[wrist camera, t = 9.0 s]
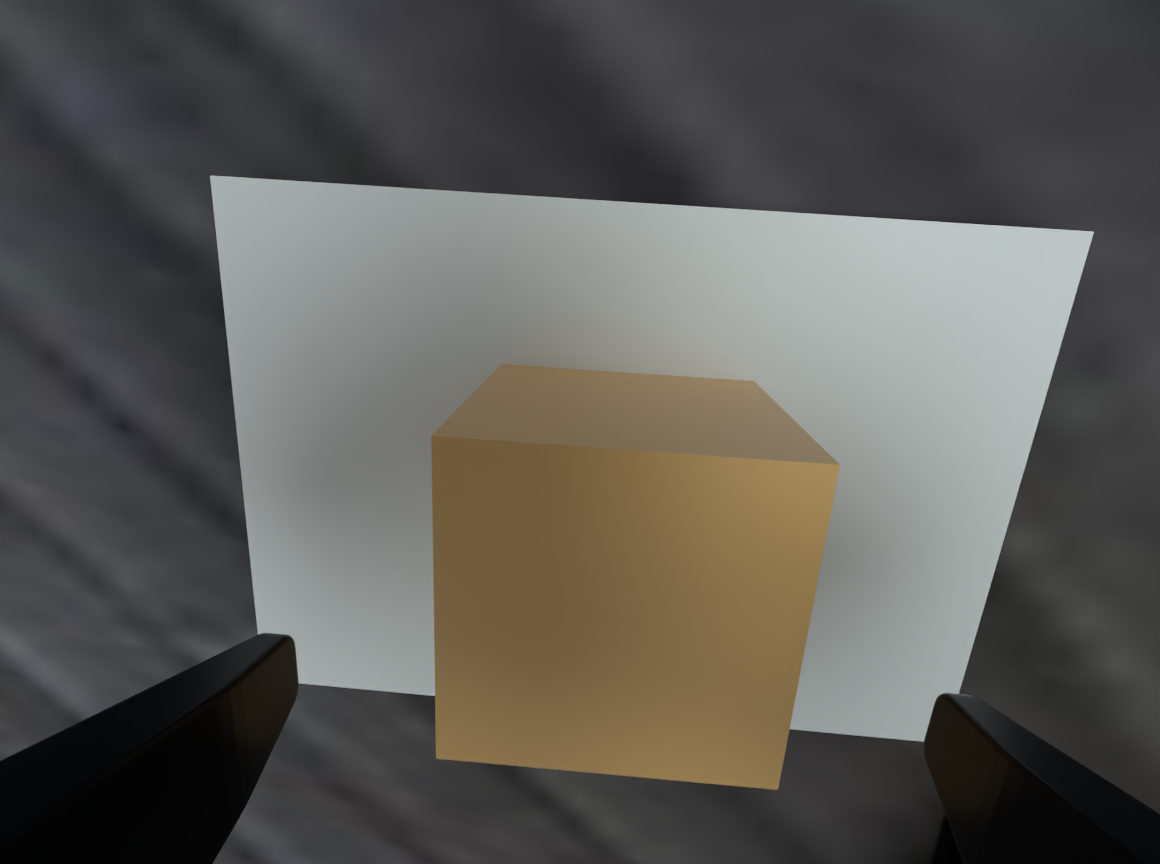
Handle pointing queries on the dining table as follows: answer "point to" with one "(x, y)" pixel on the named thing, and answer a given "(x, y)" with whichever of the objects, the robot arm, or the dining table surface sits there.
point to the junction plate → (648, 346)
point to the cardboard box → (624, 574)
